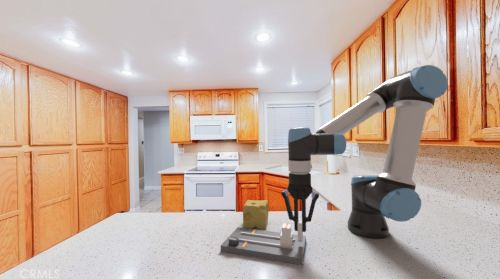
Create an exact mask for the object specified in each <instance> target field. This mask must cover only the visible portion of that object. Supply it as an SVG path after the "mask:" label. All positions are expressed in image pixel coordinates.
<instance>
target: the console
mask: <svg viewBox="0 0 500 279" xmlns="http://www.w3.org/2000/svg"><path fill="white" fill-rule="evenodd" d="M280 234H281V232H279V231H271V230H270V231H269V230H264V229H256V228H244V227H239V226H238V227H237V228H235V230H234V231H232V232H231V234H229V236H228V237H227V238H226V239H225V240H224V241H223V243H221V244H220V252H223V253H229V254H235V255H241V256H246V257H251V258H258V259H264V260H265V259H266V260H270V261H277V262H281V263H282V262H283V263H287V264H292V265H293V264H294V265H299V266H303V264H304V259H305V258H304V256H305V250H306V244H307V243H306V242H307V235H303V241H302V242H298V234H294V233H293V244H292V246H288V245H282V244H280Z"/></svg>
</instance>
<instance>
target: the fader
mask: <svg viewBox="0 0 500 279" xmlns="http://www.w3.org/2000/svg"><path fill="white" fill-rule="evenodd" d="M280 233H281V234H280V244H282V245H288V246H292V244H293V234H294V231H292V223H289V222H287V223H285V222H283V224H282V226H281V232H280Z"/></svg>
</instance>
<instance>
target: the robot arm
mask: <svg viewBox="0 0 500 279" xmlns="http://www.w3.org/2000/svg"><path fill="white" fill-rule="evenodd" d="M447 89H448V79H447V76H446V74H445V73H444V71H443V70H442V69H441V68H439V67H438V66H435V65H432V64H431V65H430V64H425V65H422V66H418V67H417V66H416V67H414V68H412V69H411V70H408V71H406V72H403V73H400V74H398V75H394V76H393V77H391V78H389V79H387V80H385V81H384V82H383V83H382V84H380V85H378V86H377V87H376V88H374V89H373V90H372V91H370V92H369V93H367V94H366V96H365V98H363V100H360V101H359V102H357V103H356V104H355V105H353V106H351V107H350V108H348V109H346V110H345V111H344V112H343V113H341V114H340V115H338V116H336V117H334V118H333V119H332V120H330V121H329V122H327V123H326V124H324V125H322V126H321V127H320V128H318V129H317V130H315V131H313V132H311V128H309V127H291V128H290V129H289V130H288V137H287V138H288V139H287V145H288V146H287V148H288V149H287V150H288V151H287V152H288V172H289V173H288V186H287V188H286V189H285V190H282V192H281V193H280V194H281V197H282V198H283V199H284V203H285V204H284V205H285V207H286V212H287V216H288V219H289V220H290V221H293V223H294V224H293V225H294V227H293V228H294V231H295V232H297V235H298V242H302V241H303V236H304V233H306V232H307V223H310V222H312V218H313V214H314V210H315V206H316V202H317V200H318V199H319V198H320V193H319V192H316V191H314V190H313V186H312V176H311V175H312V174H311V173H310V172H311V171H312V169H311V168H312V166H311V162H312V159H311V157H312V156H319V155H320V156H325V155H326V156H331V155H332V156H335V155H343V154H344V153H345V152H346V150H347V139H346V137H345V134H347V133H348V132H350V131H352V130H353V129H354V128H356V127H357V126H359V125H361V124H362V123H364V122H365V121H366V120H368V119H369V118H372V117H373V116H374V115H376V114H377V113H380V114H381V113H383V112H384V111H386V110H388V109H390V108H393V107H394V108H396V112H395V117H394V121H393V125H392V126H393V127H392V131H391V135H390V139H389V144H388V148H387V152H386V157H385V161H384V167H383V170H382V172H381V173H379V174H377V175H373V174H372V175H370V174H369V175H367V174H366V175H365V174H364V175H361V174H360V175H354V176H352V177H351V181H350V186H351V211H350V215H349V217H348V221H347V229H348V230H349V232H352V233H353V234H355V235H358V236H361V237H366V238H369V239H371V238H372V239H383V238H387V237H389V235H390V229H389V228H390V227H389V226H388V223H387V220H386V219H390V220H393V221H395V222H400V223H401V222H408V221H410V220H411V219H414V218H415V217H416V216H417V215H418V214H419V212H420V210H421V208H422V200H421V198H420V195H419V193H418V192H416V187H417V184H416V183H415V181H414V180H413V174H414V169H415V167H416V166H415V165H416V160H417V157H418V153H419V152H418V151H419V147H420V143H421V139H422V134H423V130H424V125H425V121H426V116H427V112H428V111H430V110H431V109H433V108H434V106H435V103H436V99H438V98H440V97H442V96H443V95H444V94H445V93H446V92H447ZM289 195H291V197H292V199H293V209H292V204H291V202H290V197H289ZM310 195H311V198H312V199H311V203H310V207H309V210H308V214H307V205H306V204H307V203H306V200H307V199H308V198H309V196H310ZM299 200H300V201H301V219H299Z"/></svg>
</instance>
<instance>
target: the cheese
mask: <svg viewBox="0 0 500 279" xmlns="http://www.w3.org/2000/svg"><path fill="white" fill-rule="evenodd" d="M268 222H269V201H268V199H267V200H266V199H262V200H255V199H254V200H253V199H247V200H246V202H245V203H244V205H243V206H242V226H243V228H248V229H256V228H257V230H266V229H267V224H268Z"/></svg>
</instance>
